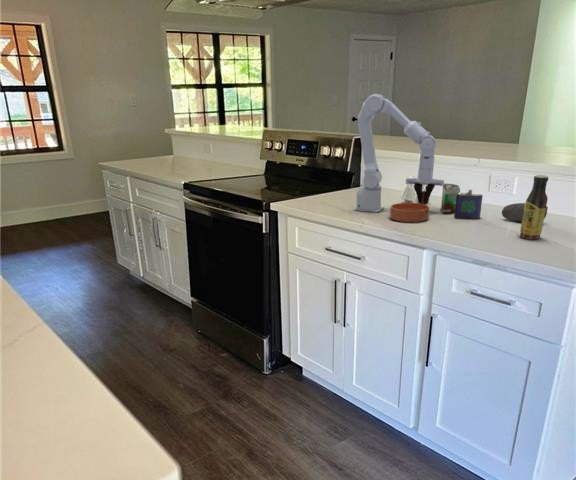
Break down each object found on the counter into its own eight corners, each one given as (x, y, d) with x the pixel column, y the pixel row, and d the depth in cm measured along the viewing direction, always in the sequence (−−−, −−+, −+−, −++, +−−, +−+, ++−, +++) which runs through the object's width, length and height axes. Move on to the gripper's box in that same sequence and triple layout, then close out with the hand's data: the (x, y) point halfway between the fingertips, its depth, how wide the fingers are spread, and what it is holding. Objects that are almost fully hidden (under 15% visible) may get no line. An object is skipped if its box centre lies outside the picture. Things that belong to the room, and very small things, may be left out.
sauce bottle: (515, 235, 167) (525, 174, 159) (533, 234, 167) (544, 173, 160) (525, 241, 161) (536, 177, 153) (544, 240, 161) (556, 177, 154)
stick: (418, 211, 202) (420, 191, 199) (420, 210, 204) (421, 190, 200) (424, 212, 201) (426, 192, 198) (425, 211, 203) (427, 191, 200)
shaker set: (399, 202, 220) (401, 176, 215) (404, 200, 223) (406, 174, 218) (424, 205, 212) (427, 178, 208) (429, 203, 215) (431, 177, 211)
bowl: (385, 221, 190) (385, 209, 188) (396, 212, 201) (396, 201, 200) (423, 224, 184) (424, 212, 182) (431, 215, 195) (432, 204, 193)
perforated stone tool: (498, 220, 186) (501, 201, 183) (503, 217, 189) (505, 199, 187) (542, 226, 177) (545, 206, 174) (546, 223, 180) (549, 203, 178)
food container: (459, 215, 195) (462, 189, 191) (443, 214, 196) (445, 188, 192) (456, 208, 206) (459, 183, 202) (440, 207, 207) (443, 183, 203)
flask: (479, 217, 190) (483, 189, 186) (480, 219, 188) (483, 190, 184) (454, 216, 193) (457, 188, 189) (454, 218, 190) (457, 190, 186)
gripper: (447, 167, 196) (443, 202, 201) (409, 166, 202) (407, 199, 207) (443, 170, 190) (440, 205, 195) (405, 168, 196) (403, 203, 202)
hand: (423, 203), depth 201 cm, fingers closed on stick, 2 cm apart
